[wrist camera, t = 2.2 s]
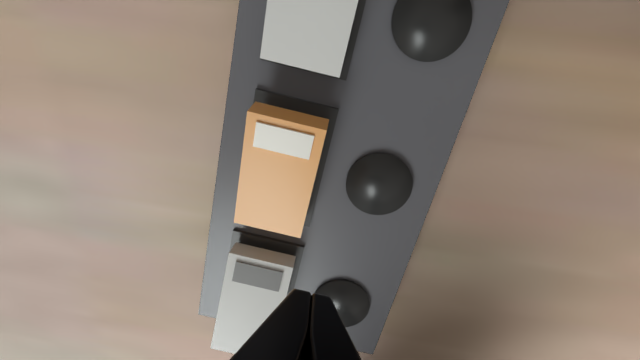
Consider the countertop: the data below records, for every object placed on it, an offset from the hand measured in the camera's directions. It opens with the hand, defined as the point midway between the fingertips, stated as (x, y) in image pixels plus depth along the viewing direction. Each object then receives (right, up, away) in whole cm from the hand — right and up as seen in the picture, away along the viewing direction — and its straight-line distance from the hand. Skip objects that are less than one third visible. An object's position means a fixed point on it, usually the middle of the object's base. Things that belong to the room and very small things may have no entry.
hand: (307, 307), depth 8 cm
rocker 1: (-3, -3, +10) cm, 11 cm away
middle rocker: (-1, +3, +7) cm, 8 cm away
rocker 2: (0, +10, +5) cm, 11 cm away
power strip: (+1, +4, +11) cm, 12 cm away
